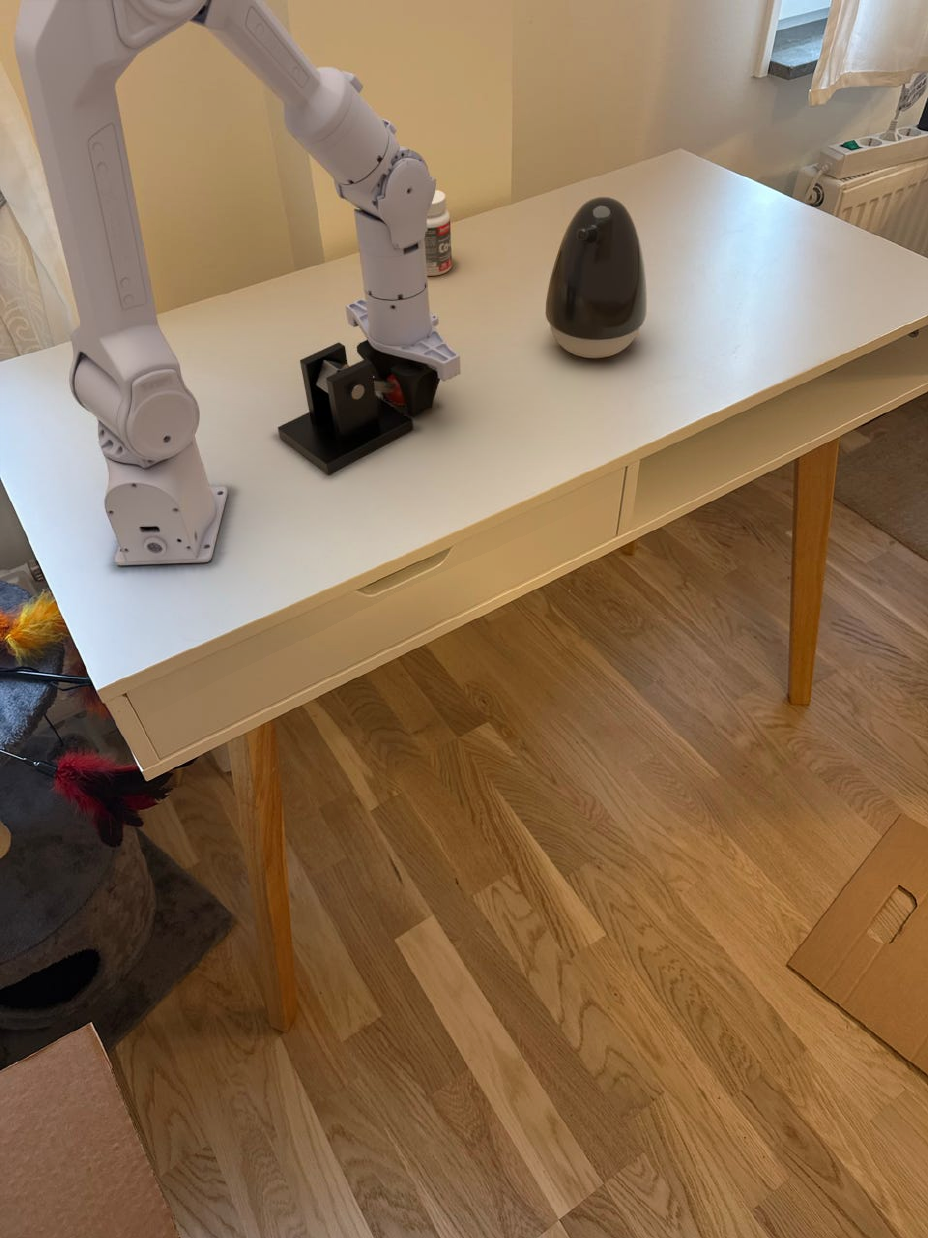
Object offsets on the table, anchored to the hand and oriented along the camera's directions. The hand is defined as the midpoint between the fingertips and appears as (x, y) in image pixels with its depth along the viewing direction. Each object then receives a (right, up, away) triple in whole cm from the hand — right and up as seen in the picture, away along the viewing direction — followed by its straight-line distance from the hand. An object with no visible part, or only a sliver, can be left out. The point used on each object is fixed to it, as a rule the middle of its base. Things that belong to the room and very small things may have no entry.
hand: (408, 412), depth 93 cm
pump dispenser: (+19, +8, +5) cm, 21 cm away
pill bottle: (+2, +21, +18) cm, 28 cm away
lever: (-4, 0, -5) cm, 6 cm away
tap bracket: (-6, -3, -4) cm, 8 cm away
